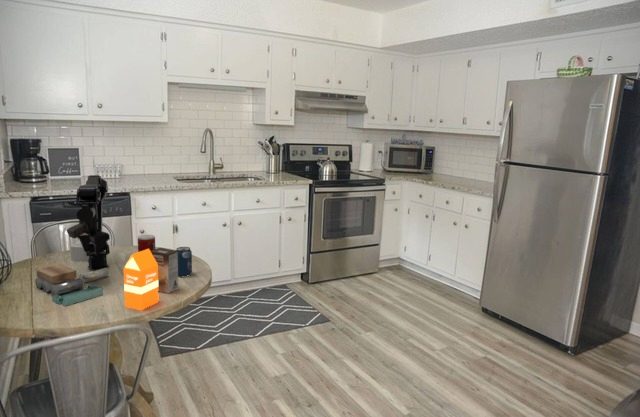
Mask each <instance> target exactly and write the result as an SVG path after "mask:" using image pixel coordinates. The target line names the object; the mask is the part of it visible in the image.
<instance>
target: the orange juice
mask: <svg viewBox="0 0 640 417" xmlns="http://www.w3.org/2000/svg"><path fill="white" fill-rule="evenodd" d="M123 285H124V286H123V288H124V289H123V290H124V306H125V307H126V308H129V309H133V310H138V311H143V310H145V308H146V309H148V308H150V307H152V306H154V305H155V304H158V303H159V302H160V300H159V299H160V298H159V297H160V295H159V293H160V292H158V264H157V262H156V260H155V259H154V257H153V255H152V253H151V251H150V250H149V249H146V250H143V251H140V252H138V251H137V252H134V253H132V254H131V255H130V256H129V259H128V260H127V262H126V264H125V266H124V267H123ZM158 301H159V302H158ZM149 306H150V307H149ZM147 307H148V308H147Z"/></svg>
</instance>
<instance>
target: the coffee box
mask: <svg viewBox="0 0 640 417" xmlns="http://www.w3.org/2000/svg"><path fill="white" fill-rule="evenodd" d="M151 253H152V255H153V257H154V259H155V260H156V262H157V264H158V291H160V292H159V293H163V292H165V293H164V294H168V293H169V294H170V292H171V291H173V290H175V289H176V290H178V289H179V276H178V251H176V249H170V248H166V247H165V248H164V247H158V248H155V250H152V251H151ZM177 288H178V289H177ZM176 290H175V291H176ZM173 292H174V291H173ZM171 293H172V292H171Z"/></svg>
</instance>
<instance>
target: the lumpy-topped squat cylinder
mask: <svg viewBox="0 0 640 417" xmlns="http://www.w3.org/2000/svg"><path fill="white" fill-rule="evenodd" d="M70 259H71V261H72V262H80V261H81V262H88V259H89V256H87V255H86V252H84V249H83V247H82V244H81V242H80V240H77V241H75V242H74V243H72V244H71V245H70Z"/></svg>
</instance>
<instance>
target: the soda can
mask: <svg viewBox="0 0 640 417" xmlns="http://www.w3.org/2000/svg"><path fill="white" fill-rule="evenodd" d="M175 250H176V251H178V277H179V276H187V275H190V276H191V274H192V273H193V267H192V266H193V262H192V261H193V258H192V257H193V256H192V255H193V254H192V253H193V252H192V250H191V247H190V246H179V247H176V249H175ZM187 277H188V276H187Z"/></svg>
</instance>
